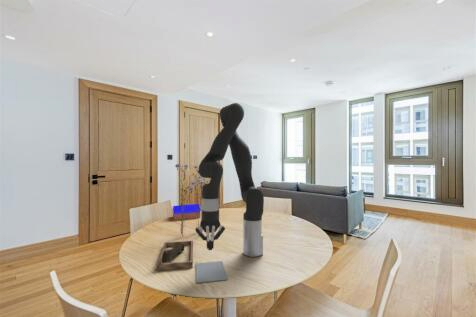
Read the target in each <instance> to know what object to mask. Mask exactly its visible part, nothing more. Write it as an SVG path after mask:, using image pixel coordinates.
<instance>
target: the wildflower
mask: <svg viewBox="0 0 476 317" xmlns="http://www.w3.org/2000/svg"><path fill="white" fill-rule="evenodd" d="M174 167H175V168H176V169H177V171H179V168H180V172H179V175H181V177H179V178H180V181H184V180H185V177H184V176H185V173H186V171H185V170H187V168H188V167H189V165H188V164H184V165H182V166H181V164H178V163H175V165H174ZM193 167H194V168H195V173H197V175H198V178H197V176H196V175H195V174H194V173H192V175H193V176H194V178H195V181H191V182H190V183H189V184H190V186H191V187H190V186H187V188H185V189H184V185H183V183H182V182H180V183H181V184H180V185H182V186H181V189H179V190H180V191H179V193H180V195H181V197H180V198H181V199H180V201H181V202H180V205H182V206H183V205H188V204H187V203H186V204H184V202H185V201H186V199H185V198H183V197H186V196H187V192H188V191H187V190H189V191H190V192H189V195H188V196H187V197H188V198H187V201H186V202H189V200H190V198H189V197H191V194H192V193H193V191H197V187H199V189H198V192H200V191H201V193H195V196H198V197H196V204H197V206H198V204H199V199H200V200H201V201H202V187H203V185H204V184H207V183H209V181H208V180H206V179H205V178H203V177H201V176H200V174H199V170H198V169H199V168H197V165H196V166H193ZM183 168H184V170H183ZM205 181H206V182H205ZM193 187H194V188H193ZM200 194H201V195H200ZM199 195H200V196H199ZM201 204H202V202H200V205H201ZM182 206H181V208H182ZM183 207H184V206H183ZM185 207H186V206H185ZM183 210H184V209H183ZM200 210H201V208H200ZM200 210H198V211H200ZM181 219H182V220H180V234H181V237H184V230H185V229H186V227H184V226H185V225H184V223H185V221H186V220H185V219H184V220H183V214H182V209H181ZM197 223H198V224H197V227H198V226H200V221H199V220H197ZM201 232H202V233H203V229H202V228H201ZM196 235H197V236H198V238H200V236H199V235H198V233H196Z"/></svg>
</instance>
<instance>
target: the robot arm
mask: <svg viewBox="0 0 476 317" xmlns="http://www.w3.org/2000/svg"><path fill="white" fill-rule="evenodd" d="M219 118H220V122H221V125H222V129H221V130H220V131H219V132H218V134H217V135H216V136H215V138H214V140H213V141H212V144H211V146H210V149H209V151H208V153H207V154H206V155H205V156H204V158H202V160H201V161H200V163H199V164H198V168H197V169H198V171H199V174H198V175H199V176H200V177H202V179H209V182H207V183H206V184H205V183H204V184H202V185H203V187H202V195H201V197H202V198H201V199H202V200H201V203H202V204H201V203H200V206H201V207H200V209H201V212H200V218H201V219H200V222H199V226H198V225H197V226H195V232H196V234H198V235H197V236H199V238H200V239H201V240H202V241H205V242H206V249H207V250H208V251H212V250H213V249H214V245H215V244H214V243H215V242H214V241H215V240H218V239H219V238H220V237H221V235H222V234H223V233H224V232H225V230H226V227H225V225H222V224H221V222H220V197H219V196H220V193H219V192H220V186H221V182H222V178H223V174H224V168H223V165H222V163H221V162H219V161H223V159H224V158H225V156H226V153H227V150H228V148H229V150H230V153H231V157H232V158H231V159H232V161H233V164H234V168H235V172H236V176H237V177H238V184H239V188H240V195H241V199H242V201H243V202H244V203H245V212H244V213H243V217H242V218H243V225H242V226H243V231H242V232H243V233H242V234H243V235H242V236H243V240H242V241H243V245H242V247H243V248H242V250H243V252H242V253H243V254H244V255H245V256H247V257H251V258H253V257H254V258H255V257H260V256H263V255H264V235H263V233H262V230H263V228H262V226H263V224H262V223H263V222H262V221H263V220H262V219H263V218H262V217H263V214H264V205H265V204H264V203H265V201H264V200H265V198H264V193H263V191H262V190H261V189H260V188H258V187H256V186H255V183H254V180H253V179H254V178H253V175H252V174H253V173H252V170H253V169H252V168H253V159H252V156H251V150H250V148H249V146H248V144H247V143H246V142H245V140H244V139H242V137H241V136H240V135H239V133H238V131H237V130H238V128H239V126H240V124H241V123H242V121H243V119H244V118H245V110H244V108H243V106H242V104H240V103H238V102H234V103H233V102H232V103H230V104H228V105H225V106H223V107H222V108H221V109H220V110H219ZM201 228H202V232H201ZM217 230H218V231H217ZM203 232H204V233H206V234H204V233H203ZM215 233H216V234H215Z"/></svg>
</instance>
